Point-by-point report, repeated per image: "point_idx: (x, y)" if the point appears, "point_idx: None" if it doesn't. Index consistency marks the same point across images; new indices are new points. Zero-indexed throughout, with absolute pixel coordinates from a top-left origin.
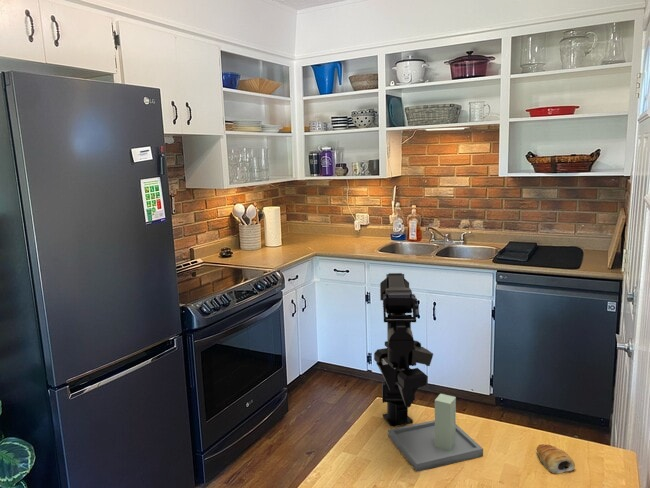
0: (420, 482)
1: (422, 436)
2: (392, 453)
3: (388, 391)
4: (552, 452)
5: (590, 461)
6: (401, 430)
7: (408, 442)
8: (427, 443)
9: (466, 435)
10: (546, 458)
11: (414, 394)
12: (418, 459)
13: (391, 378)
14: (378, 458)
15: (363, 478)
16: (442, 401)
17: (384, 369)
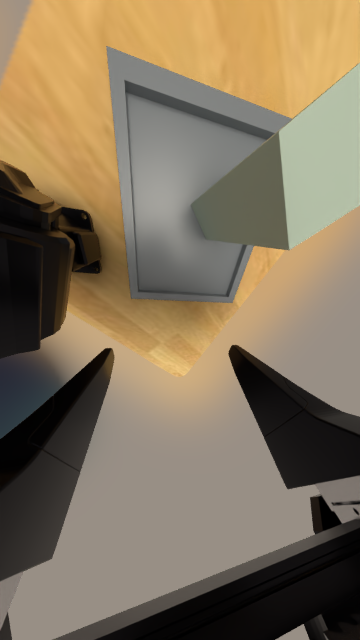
0: (242, 303)
1: (165, 239)
2: (177, 306)
3: (58, 324)
4: None
5: None
6: (137, 274)
7: (172, 278)
8: (191, 246)
9: (234, 108)
10: None
11: (290, 382)
12: (217, 288)
13: (87, 408)
14: (178, 325)
15: (201, 347)
16: (330, 217)
17: (61, 511)
